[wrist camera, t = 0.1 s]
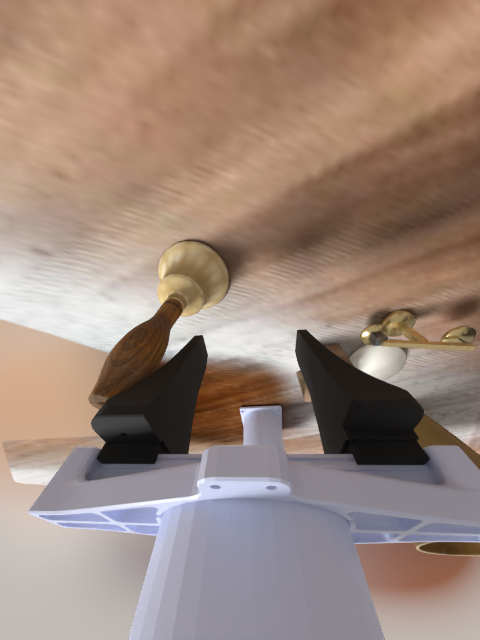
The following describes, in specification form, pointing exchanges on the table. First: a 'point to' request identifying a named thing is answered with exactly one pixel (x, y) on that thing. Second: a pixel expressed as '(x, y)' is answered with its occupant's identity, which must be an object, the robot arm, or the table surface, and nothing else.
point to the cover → (337, 351)
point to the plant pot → (438, 435)
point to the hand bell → (164, 316)
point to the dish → (379, 360)
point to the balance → (415, 334)
